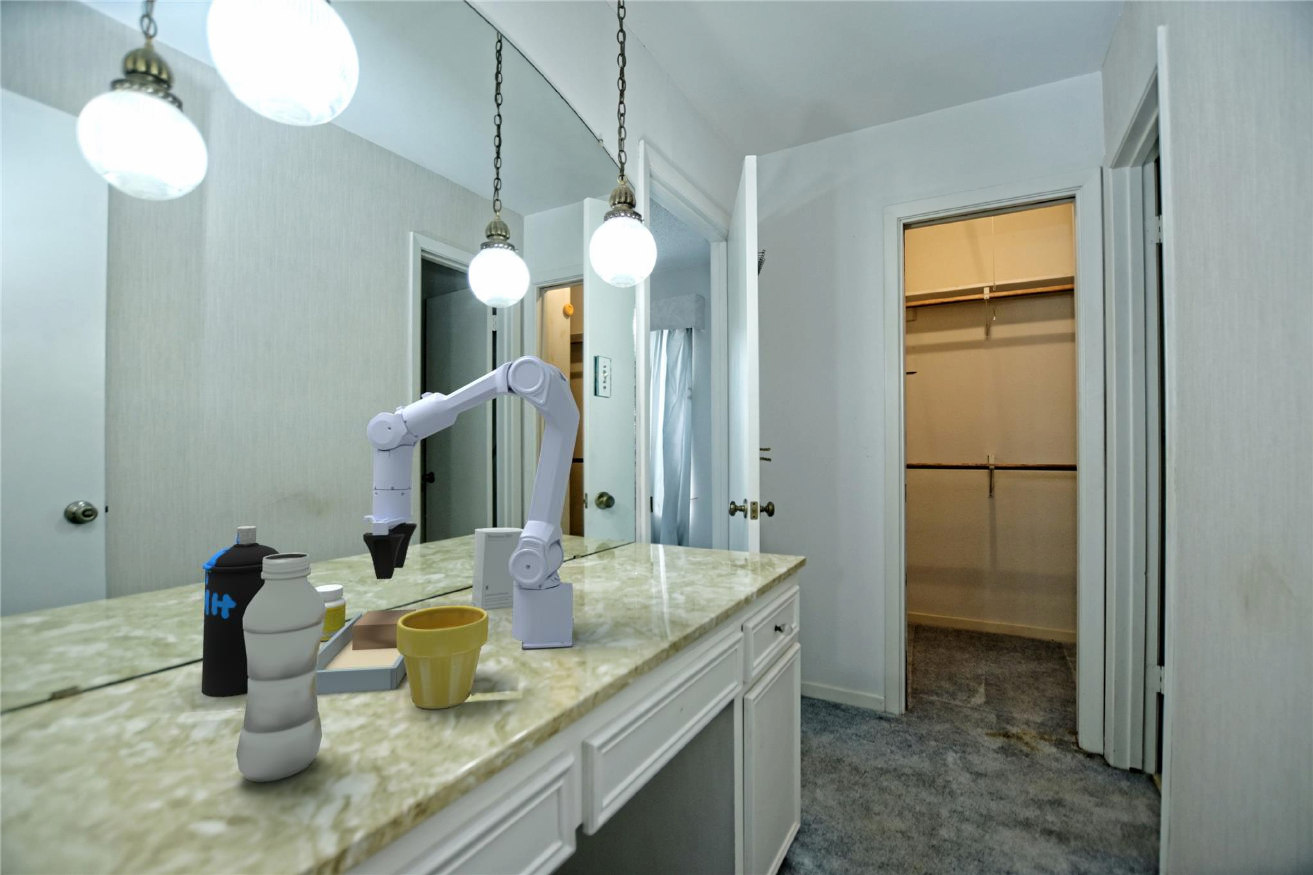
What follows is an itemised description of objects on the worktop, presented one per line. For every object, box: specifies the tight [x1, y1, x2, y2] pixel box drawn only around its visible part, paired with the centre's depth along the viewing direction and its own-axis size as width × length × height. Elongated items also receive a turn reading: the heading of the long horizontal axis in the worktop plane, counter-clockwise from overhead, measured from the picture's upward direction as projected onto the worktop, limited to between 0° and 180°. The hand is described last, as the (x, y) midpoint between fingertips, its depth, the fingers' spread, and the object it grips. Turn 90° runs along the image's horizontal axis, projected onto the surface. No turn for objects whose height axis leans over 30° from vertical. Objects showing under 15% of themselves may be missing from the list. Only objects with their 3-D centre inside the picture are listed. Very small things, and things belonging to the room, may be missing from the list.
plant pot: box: [397, 605, 489, 710], centre depth 68 cm, size 10×10×10 cm
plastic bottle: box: [235, 552, 326, 783], centre depth 53 cm, size 6×7×20 cm
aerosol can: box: [201, 525, 281, 698], centre depth 69 cm, size 8×8×20 cm
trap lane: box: [316, 612, 407, 695], centre depth 79 cm, size 16×24×4 cm
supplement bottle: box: [314, 584, 346, 643], centre depth 85 cm, size 5×5×8 cm
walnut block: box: [352, 608, 417, 650], centre depth 84 cm, size 7×7×4 cm
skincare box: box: [471, 527, 524, 611], centre depth 105 cm, size 8×6×15 cm
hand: (390, 572), depth 91 cm, fingers open, 7 cm apart
